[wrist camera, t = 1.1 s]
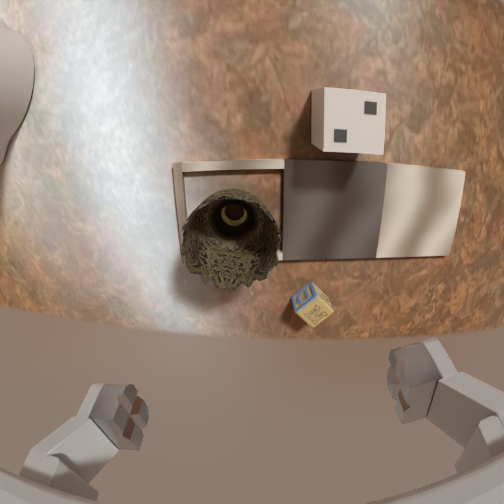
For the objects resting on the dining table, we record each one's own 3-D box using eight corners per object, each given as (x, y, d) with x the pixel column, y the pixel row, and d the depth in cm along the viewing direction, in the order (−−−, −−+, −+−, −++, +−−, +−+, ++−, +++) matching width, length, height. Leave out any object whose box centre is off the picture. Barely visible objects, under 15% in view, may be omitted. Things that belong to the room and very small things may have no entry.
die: (310, 143, 27) (323, 151, 23) (311, 89, 25) (324, 87, 21) (362, 145, 27) (383, 155, 23) (364, 94, 25) (386, 93, 21)
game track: (184, 259, 32) (183, 262, 32) (174, 162, 28) (172, 164, 28) (447, 253, 33) (449, 255, 32) (462, 170, 28) (465, 172, 28)
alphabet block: (312, 279, 34) (317, 295, 31) (328, 296, 35) (334, 312, 32) (290, 296, 35) (293, 313, 32) (307, 312, 36) (312, 329, 33)
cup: (264, 252, 32) (269, 297, 25) (191, 240, 32) (176, 283, 24) (280, 181, 29) (292, 208, 22) (201, 167, 28) (185, 190, 21)
